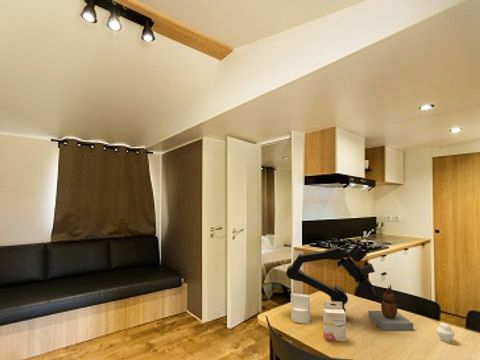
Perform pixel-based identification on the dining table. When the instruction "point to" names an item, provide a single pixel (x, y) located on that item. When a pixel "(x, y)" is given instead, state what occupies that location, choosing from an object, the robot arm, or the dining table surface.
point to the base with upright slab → (300, 308)
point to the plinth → (390, 321)
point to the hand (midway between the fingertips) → (375, 293)
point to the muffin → (445, 332)
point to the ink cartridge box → (334, 321)
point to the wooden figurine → (389, 304)
